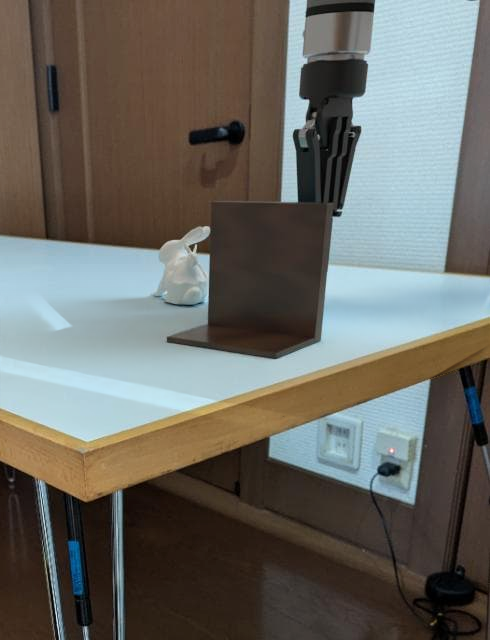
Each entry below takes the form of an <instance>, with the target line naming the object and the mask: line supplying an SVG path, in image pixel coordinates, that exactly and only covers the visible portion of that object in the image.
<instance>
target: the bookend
mask: <svg viewBox="0 0 490 640" xmlns="http://www.w3.org/2000/svg"><path fill="white" fill-rule="evenodd" d="M332 214H333V203H319V202H298V201H260V200H257V201H256V200H214V201H211V202H210V226H209V227H210V234H209V261H208V262H209V265H208V278H209V284H208V299H207V301H208V303H207V323H206V324H202V325H200V326H196V327H193V328H190V329H186V330H183V331H180V332H177V333H174V334H170V335H168V336H166V343H167V342H168V343H174V344H179V345H186V346H192V347H193V346H194V347H198V348H206V349H210V350H211V349H212V350H218V351H225V352H231V353H238V354H245V355H251V356H255V357H263V358H270V359H279V358H281V357H283V356H286V355H288V354H292V353H293V352H295V351H298V350H301V349H304V348H306V347H308V346H311V345H313V344H316V343H319V342H321V341H322V332H323V320H324V311H325V310H324V309H325V300H326V299H325V298H326V288H327V278H328V272H327V268H328V269H329V263H328V257H329V258H330V253H329V247H330V248H331V242H330V236H331V237H332V232H331V225H332V226H333V222H332V218H333V217H332Z"/></svg>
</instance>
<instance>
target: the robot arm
mask: <svg viewBox="0 0 490 640" xmlns="http://www.w3.org/2000/svg"><path fill="white" fill-rule="evenodd" d="M467 1H468V2H475V1H477V0H467ZM375 5H376V0H306V6H305V7H306V9H305V16H304V17H305V19H304V20H305V22H304V30H302V34H301V35H302V38H303V45H302V57H303V59H307V61H306V63H303V65H302V66H301V67H300V78H299V92H298V93H299V94H298V97H299V98H300V99H301V100H303V101H308V107H307V110H306V113H305V124H304V125H303V127H301V128H294V130H293V132H292V140H293V145H294V149H295V160H296V161H295V163H296V185H297V186H296V191H297V202H319V203H333V214H332V223H333V222H334V221H333V220H334V218H340V217H341V216H342V214H343V211H342V210H343V209H344V206H345V202H346V196H347V191H348V186H349V183H350V177H351V172H352V169H353V168H352V167H353V162H354V159H355V153H356V149H357V145H358V143H359V140H360V137H361V134H362V126H361V125H354V123H353V117H354V110H353V100H354V99H355V98H361V97H363V96H364V95H365V93H366V88H367V80H368V72H369V63H368V61H367V60H365V56H367V55H369V54H370V52H371V48H372V47H371V46H372V38H373V37H372V36H373V25H374V17H375ZM332 231H333V224H332V225H331V233H332ZM331 240H332V235H331V236H330V243H331V242H332V241H331ZM330 252H331V246H330V247H329V254H330ZM329 260H330V256H329V257H328V264H329V262H330V261H329ZM327 273H329V267H328V268H327Z"/></svg>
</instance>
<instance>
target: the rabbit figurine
mask: <svg viewBox="0 0 490 640" xmlns="http://www.w3.org/2000/svg"><path fill="white" fill-rule="evenodd" d="M210 227H211V226H208V225H207V226H206V225H205V226H197V227H195V228H193V229H191V230H189V231H188V232H187V233H186V234H185V235H184V236H183V237H182V238H181V239H172V240H168V241H166V242H165V243H163V245H162V246H161V247H160V249H159V250H158V253H157V257H158V261H159V262H160V263H162V264H164V269H163V274H162V277H161V279H160V281H159V284H158V285H157V289H156V291H155V292H151V293H150V295H151V296H155V297H162V296H163V299H164V302H166V303H169V304H174V305H188V306H193V305H197V304H198V303H199V304H200V303H203V302H205V300H206V297H207V294H208V293H209V273H208V272H207V271H206V270H204V268H203V266H202V264H201V263H199V262H198V259H199V255H198V254H197V248H198V244H197V243H200V242H202V241H204V240H206V239H207V238H208V237H210ZM191 245H194V248H193V250H191V248H190V247H189V246H191Z"/></svg>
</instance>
